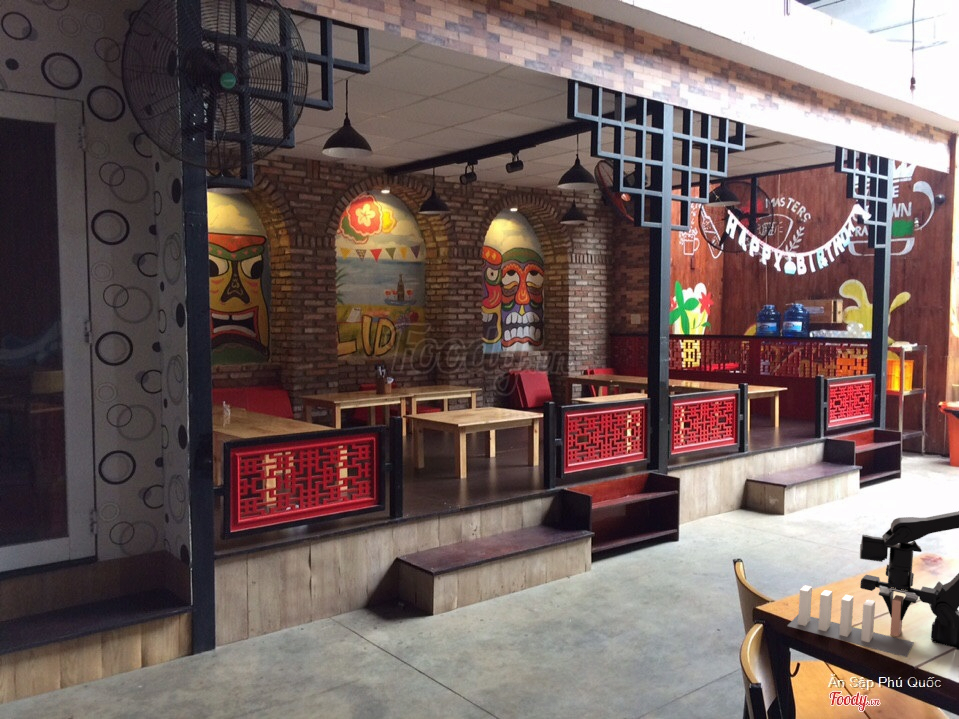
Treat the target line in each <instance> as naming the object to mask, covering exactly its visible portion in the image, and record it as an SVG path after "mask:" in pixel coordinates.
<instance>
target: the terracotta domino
mask: <svg viewBox="0 0 959 719" xmlns="http://www.w3.org/2000/svg"><path fill="white" fill-rule="evenodd" d="M904 598H905V596H903V595H898V594H895V596H893V603H892V618H891V617H890V635H891V636H893V637H894V636H895V637H900V634H901V633H902V630H903V629H902V628H903V620H902V621H901V611H902V605H903V600H904ZM890 635H889V636H890Z"/></svg>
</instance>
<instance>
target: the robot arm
mask: <svg viewBox="0 0 959 719" xmlns="http://www.w3.org/2000/svg"><path fill="white" fill-rule="evenodd" d="M956 529H959V511H954V512H948V513H943V514H937V515H933V516H928V517H917V516H916V517H915V516H910V517H908V516H906V517H903V516H902V517H897V518H895V519H893V521H892V522H891V524H890V528H889V529H887V531H886V532H885V533H884V534H883V535H881V536H882V537H879V536H871V535H869V534H862V535H861V542H860V546H859V559H860V560H866V561H871V562H872V561H873V562H880V563H882V562H883V561H885V560H887V559H888V564H886V568H885V576H886V577H887V582H885V581H881V580H880V579H881V578H880V577H879V576H875V575H870V574H865V575H864V576H862V578H861V580H860V589H862V590H867V591H872V592H873V591H875V589H878V590H879V592H878V596H880V597H882V599H883V601H884V603H885V604H886V607H887V610H888V612H889V615H890V619H891V618H892V603H893V599H894V592H896V593H900V594H905V596H904V600H903V605H902V611H901V621H902V622H903V620H904V617H905V615H906V614H907V612H908V609H909V608H910V605H911V604H916V603H917V601H918V600H920V602H922V603H925V604H928V606H929V607H930V610H931V612H932V614H933V615H934V616H935V618H934V621H933V622H932V624H931V630H930V632H931V633H930V639H931V640H932V641H931V642H932V643H935V644H938V645H942V646H947V647H950V648H951V647H952V648H954V649H956V650H957V651H958V650H959V572H958V573H957V574H956V575H955V576H954V577H953V578H952V579H951V581H949V582H947V583H944V584H943V583H942V582H941V581H937V582H936V584H935V586H934V587H933V588H932V587H927V586H922V587H921V589H919V588H913V585H914V575H915V573H913V562H914V560H913V559H914V552H919V553H921V552H922V551H923V550H922V548H921V546H919V545H918V543H917V542H916V541H917V540H919V539H922V538H923V537H925V536H927V535H930V534H934V533H935V534H936V533H939V532H945V531H950V530H956ZM888 550H889V551H888ZM888 552H889V554H888ZM888 555H889V557H888Z"/></svg>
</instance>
